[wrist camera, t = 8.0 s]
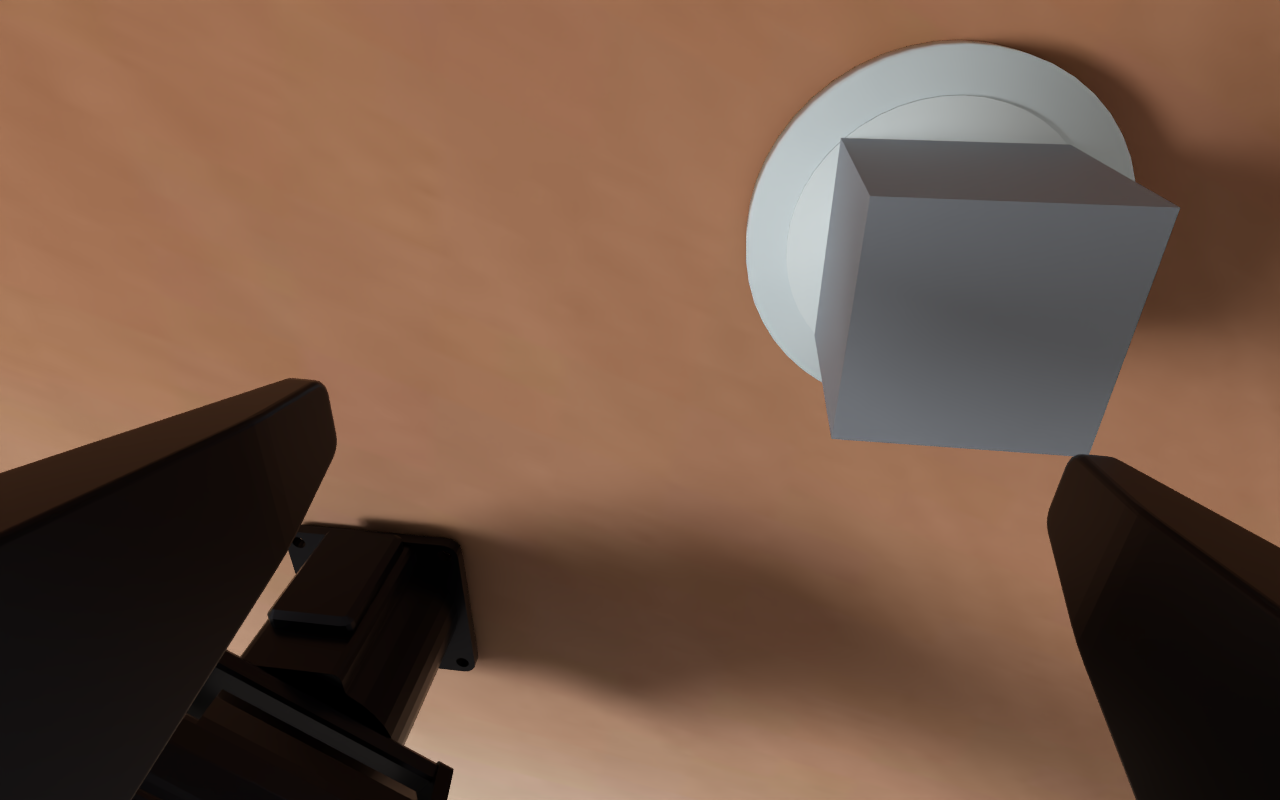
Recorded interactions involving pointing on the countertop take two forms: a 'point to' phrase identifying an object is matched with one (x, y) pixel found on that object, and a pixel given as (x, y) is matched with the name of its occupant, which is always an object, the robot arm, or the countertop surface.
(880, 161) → the block
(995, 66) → the dish
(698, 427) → the countertop surface
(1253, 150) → the countertop surface
